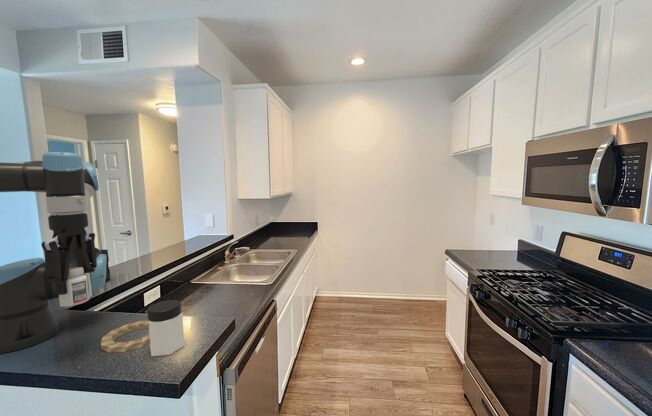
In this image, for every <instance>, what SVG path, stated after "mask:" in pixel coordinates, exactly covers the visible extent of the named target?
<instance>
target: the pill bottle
mask: <svg viewBox="0 0 652 416" xmlns="http://www.w3.org/2000/svg"><path fill="white" fill-rule="evenodd" d="M83 273H84V270H83V267H77V268H70V269H69V275H68V280H71V283H72V293H73V303H74V305H73V306H77V305H81V304H84V303H86V302H87V301H90V297H89V289H88V279H87V276H85V275H83Z"/></svg>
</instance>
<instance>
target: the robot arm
mask: <svg viewBox="0 0 652 416" xmlns="http://www.w3.org/2000/svg"><path fill="white" fill-rule="evenodd" d="M41 159H42V160H32V161H30V160H29V161H23V162H22V161H20V162H19V161H18V162H0V193H14V192H15V193H16V192H24V193H25V192H31V193H32V192H33V193H45V199H46V201H45V202H46V211H47V213H48V214H50V215H49V216H48V217H47V220H48V229H49V230H51V231H52V233H53V234H52V238H51V239H50V240H48V241H42V242H41V243H40V245H41V248H42V250H43V251H44V253H43V254H44V258H43V257H35V258H34V257H33V258H28V259H23V260H18V261H14V262H10V263H7V264H3V265H0V354H5V352H6V353H11V351H12V352H14V351H20V350H23V349H27V348H29V347H32V346H35V345H37V344H40V343H42V342H44V341H45V342H46V340H49V339H50V338H52V337H54V336H56V335H57V334H58V332H60V325H59V321H58V320H56V319H55V316H54V314H53V313H52V310H51V309H50V305H49V304H50V303H49V301H50V300H56V299H58V300H59V307H62V308H63V307H72V306H75V305H74V303H73V293H72V283H71V280H68V275H69V269H70V268H77V267H83V270H84V273H83V275H85V276H87V279H88V289H89V298H90V297H92V296H93V292H94V291H99V290H101V289H103V288H104V287H105V285H106V283H105V280H106V264H107V256H106V254H101V251H100V250H101V249H100V248H98V247H96V246H95V237H96V233H94V228H93V227H94V226H93V225H94V224H93V215H92V214H93V213H92V205H91V204H92V203H91V198H92V197H93V196H94V195H95V192H98V191H99V190H100V189H99V181H98V176H97V171H96V168H95V166H94V165H93V164H92V163H90V162H85V161H83V158H82V155H80V154H79V153H75V152H67V151H66V152H63V151H50V152H49V151H48V152H44V153H43V154H42V157H41Z"/></svg>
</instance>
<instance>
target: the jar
mask: <svg viewBox="0 0 652 416" xmlns="http://www.w3.org/2000/svg"><path fill="white" fill-rule="evenodd" d="M146 314H147V315H146V316H147V317H146V318H147V321H148V327H149V328H148V335H149V340H150V343H149V351H150V356H151V357H160V356H161V357H162V356H164V357H165V356H170V355H172V354H174V353H176V352H177V351H178V350H180V349H182V348H183V347H185V335H184V320H183V312H182V302H181V301H180V300H178V299H168V300H164V301H158V302H156V303H153V304H152V305H150V306H148V307H147V309H146Z"/></svg>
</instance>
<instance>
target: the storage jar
mask: <svg viewBox="0 0 652 416" xmlns="http://www.w3.org/2000/svg"><path fill="white" fill-rule="evenodd" d="M99 250H100V251H101V254H106V256H107V264H106V280H105V284H107V283H106V282H108V281H109V282H111V269H110V266H109V261H110V259H109V258H110V257H109V251H108V249H99ZM109 282H108V283H109Z"/></svg>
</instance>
